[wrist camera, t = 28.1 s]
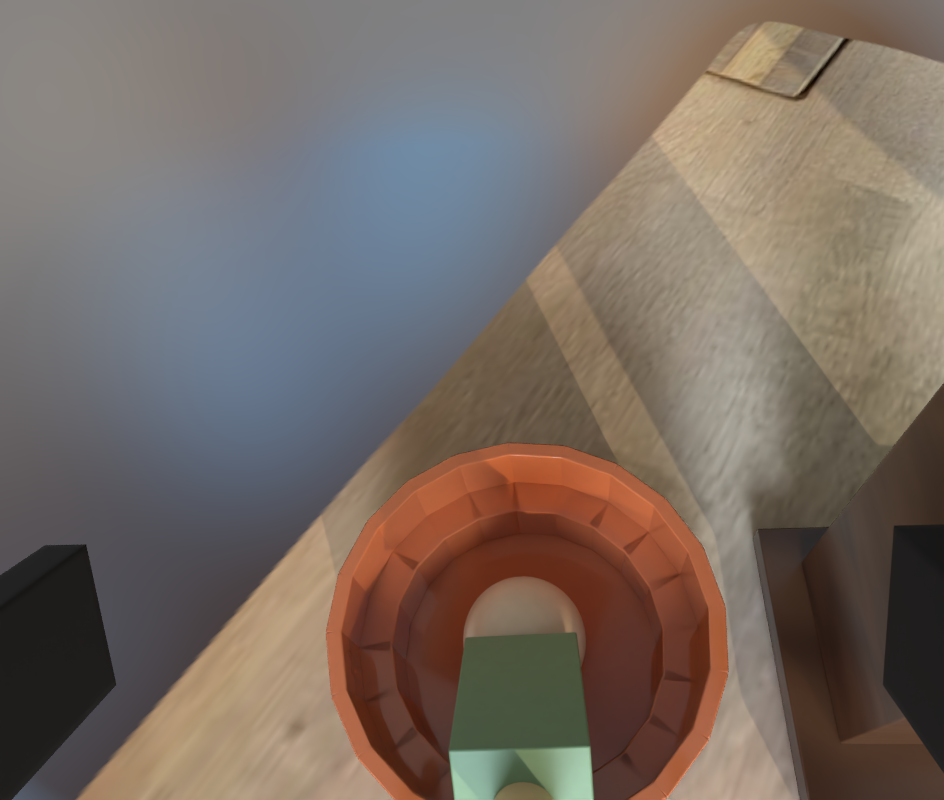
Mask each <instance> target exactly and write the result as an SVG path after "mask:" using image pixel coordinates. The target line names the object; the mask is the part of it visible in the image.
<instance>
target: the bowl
mask: <svg viewBox="0 0 944 800" xmlns="http://www.w3.org/2000/svg"><path fill="white" fill-rule="evenodd" d="M522 576H526V577H535V578H539V579H542V580H545V581H547V582H549V583H551V584H553V585H555V586H556V587H558V588H559V589H560V590H562V591H563V592H564V593H565V594H566V595H567V596H568V597H569V598H570V599H571V600H572V602H573V603H574V605H575V606H576V608H577V609H578V611H579V613H580V616H581V618H582V621H583V625H584V628H585V635H586V650H585V656H584V660H583V663H582V666H581V672H582V680H583V688H584V697H585V705H586V713H587V722H588V730H589V738H590V746H591V761H592V776H593V791H594V800H665V799H666V798H667V797H668V796H669V795H670V794H671V793H672V791H673V790H674V788H675V787H676V786H677V784H678V783H679V781H680V780H681V779H682V777H683V776H684V774H685V773H686V772H687V770H688V769H689V767H690V766H691V765H692V763H693V762H694V761H695V759H696V758H697V756H698V755H699V754H700V752H701V751H702V749H703V748H704V747H705V745H706V744H707V742H708V741H709V740H708V739H709V738H710V736H711V732H712V729H713V725H714V722H715V718H716V715H717V711H718V708H719V705H720V701H721V698H722V694H723V691H724V687H725V684H726V680H727V677H728V672H729V671H728V649H727V628H726V608H725V604H724V601H723V598H722V596H721V593H720V590H719V588H718V585H717V582H716V580H715V577H714V574H713V572H712V569H711V566H710V564H709V561H708V558H707V556H706V553H705V550H704V548H703V547H702V544H701V543H700V542H699V541H698V539H697V538H696V537H695V535H694V534H693V533H692V532H691V530H690V529H689V528H688V526H687V525H686V524H685V523H684V521H683V520H682V519H681V517H680V516H679V515H678V513H677V512H676V511H675V510H674V508H673V507H672V506H671V504H670V503H669V502H668V501H667V499H665V498H664V497H663V496H662V495H660V494H659V493H657V492H656V491H655V490H653V489H652V488H650V487H649V486H648V485H646V484H645V483H643V482H642V481H641V480H639V479H638V478H636V477H635V476H634V475H632V474H631V473H629V472H628V471H627V470H625V469H624V468H622V467H621V466H620V465H617V464H616V463H613V462H610V461H608V460H605V459H602V458H599V457H596V456H593V455H590V454H587V453H585V452H582V451H579V450H576V449H573V448H570V447H567V446H563V445H546V444H527V443H504V444H500V445H496V446H491V447H487V448H483V449H478V450H474V451H470V452H465V453H461V454H457V455H454V456H452V457H450V458H448V459H446V460H445V461H443V462H441V463H439V464H437V465H436V466H434V467H432V468H430V469H428V470H427V471H425V472H423V473H421V474H419V475H418V476H416V477H414V478H412V479H410V480H408V481H407V482H406V483H405V484H404V485H403V486H402V487H401V488H400V489H399V490H398V491H397V492H396V493H395V494H394V495H393V496H392V497H391V498H390V499H389V500H388V501H387V502H386V503H385V504H384V505H383V506H382V507H381V508H380V509H379V510H378V511H377V512H376V513H375V514H374V515H373V516H372V517H371V518H370V519H369V520H368V521H367V523H366V524H365V526H364V528H363V530H362V531H361V533H360V535H359V537H358V539H357V541H356V542H355V544H354V546H353V548H352V550H351V552H350V553H349V555H348V557H347V559H346V561H345V562H344V564H343V566H342V568H341V570H340V572H339V574H338V578H337V583H336V587H335V592H334V597H333V601H332V606H331V611H330V615H329V620H328V624H327V629H326V632H327V633H326V641H327V653H328V664H329V675H330V687H331V695H332V700H333V702H334V704H335V707H336V709H337V711H338V714H339V716H340V719H341V721H342V723H343V726H344V728H345V730H346V733H347V735H348V738H349V740H350V742H351V745H352V747H353V749H354V752H355V754H356V756H357V757H358V759H359V761H360V762H361V763H362V764H363V765H364V766H365V767H366V768H367V770H368V771H369V772H370V773H371V774H372V775H373V776H374V777H375V779H376V780H377V781H378V782H379V783H380V784H381V785H382V786H383V788H384V789H385V790H386V791H387V792H388V793H389V794H390V795H391V797H392V798H393V799H394V800H454V794H453V785H452V777H451V768H450V760H449V745H450V738H451V731H452V725H453V718H454V711H455V704H456V698H457V691H458V684H459V677H460V671H461V664H462V657H463V650H464V647H463V633H464V626H465V622H466V619H467V616H468V613H469V611H470V609H471V607H472V606H473V604H474V602H475V601H476V600H477V598H478V597H479V596H480V595H481V594H482V593H483V592H484V591H485V590H487V589H488V588H489V587H490V586H492V585H494V584H495V583H497V582H499V581H502V580H504V579H508V578H512V577H522Z"/></svg>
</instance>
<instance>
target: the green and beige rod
mask: <svg viewBox="0 0 944 800" xmlns="http://www.w3.org/2000/svg"><path fill="white" fill-rule="evenodd" d="M463 647H464V650H463V657H462V664H461V671H460V677H459V684H458V691H457V698H456V704H455V711H454V718H453V725H452V731H451V738H450V745H449V760H450V768H451V777H452V785H453V794H454V800H594V791H593V776H592V761H591V746H590V738H589V730H588V722H587V713H586V705H585V697H584V688H583V680H582V672H581V666H582V663H583V660H584V656H585V650H586V635H585V628H584V625H583V621H582V618H581V616H580V613H579V611H578V609H577V608H576V606H575V605H574V603H573V602H572V600H571V599H570V598H569V597H568V596H567V595H566V594H565V593H564V592H563V591H562V590H560V589H559V588H558V587H556V586H555V585H553V584H551V583H549V582H547V581H545V580H542V579H539V578H535V577H526V576H522V577H512V578H508V579H504V580H502V581H499V582H497V583H495V584H494V585H492V586H490V587H489V588H488V589H487V590H485V591H484V592H483V593H482V594H481V595H480V596H479V597H478V598H477V600H476V601H475V602H474V604H473V606H472V607H471V609H470V611H469V613H468V616H467V619H466V622H465V626H464V633H463Z"/></svg>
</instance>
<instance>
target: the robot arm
mask: <svg viewBox="0 0 944 800" xmlns="http://www.w3.org/2000/svg"><path fill="white" fill-rule="evenodd" d="M115 686H116V682H115V677H114V672H113V667H112V663H111V658H110V654H109V649H108V645H107V640H106V635H105V631H104V626H103V622H102V616H101V612H100V608H99V603H98V598H97V593H96V589H95V584H94V579H93V575H92V570H91V566H90V561H89V556H88V551H87V547H86V545H49V546H48V545H47V546H43V547H42V548H40V549H39V550H38V551H36V552H34V553H33V554H31V555H30V556H28V557H27V558H25V559H24V560H22V561H21V562H19V563H18V564H17V565H15V566H14V567H12V568H11V569H9V570H8V571H6V572H5V573H3V574H2V575H0V800H12V799H13V798H14V796H15V795H16V794H17V793H18V792H19V791H20V790H21V789H22V788H23V787H24V786H25V784H26V783H27V782H28V781H29V780H30V779H31V778H32V777H33V776H34V774H35V773H36V772H37V771H38V770H39V769H40V768H41V767H42V766H43V765H44V764H45V762H46V761H47V760H48V759H49V758H50V757H51V756H52V755H53V754H54V752H55V751H56V750H57V749H58V748H59V747H60V746H61V745H62V744H63V743H64V741H65V740H66V739H67V738H68V737H69V736H70V735H71V734H72V733H73V731H74V730H75V729H76V728H77V727H78V726H79V725H80V724H81V723H82V722H83V721H84V720H85V718H86V717H87V716H88V715H89V714H90V713H91V712H92V711H93V710H94V709H95V708H96V706H97V705H98V704H99V703H100V702H101V701H102V700H103V699H104V698H105V697H106V695H107V694H108V693H109V692H110V691H111V690H112V689H113V688H114V687H115ZM883 686H884V688H885V689H886V690H887V692H888V693H889V695H890V696H891V698H892V699H893V701H894V702H895V703H896V705H897V706H898V708H899V709H900V711H901V712H902V714H903V715H904V716H905V718H906V719H907V721H908V722H909V724H910V725H911V727H912V728H913V730H914V731H915V732H916V734H917V735H918V737H919V738H920V740H921V741H922V743H923V744H924V745H925V747H926V748H927V750H928V751H929V753H930V754H931V756H932V757H933V758H934V760H935V761H936V763H937V764H938V766H939V767H940V769H941V770H942V772H943V773H944V524H940V525H897V526H894V531H893V545H892V559H891V574H890V588H889V602H888V616H887V630H886V645H885V659H884V673H883Z"/></svg>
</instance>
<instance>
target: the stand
mask: <svg viewBox="0 0 944 800" xmlns="http://www.w3.org/2000/svg"><path fill="white" fill-rule="evenodd" d="M940 524H944V383H943V385H942V386H941V387H940V388H939V390H938V391H937V392H936V393H935V395H934V396H933V397H932V398H931V400H930V401H929V402H928V403H927V405H926V406H925V407H924V408H923V410H922V411H921V412H920V414H919V415H918V416H917V417H916V419H915V420H914V421H913V422H912V424H911V425H910V426H909V427H908V429H907V430H906V431H905V432H904V434H903V435H902V436H901V437H900V439H899V440H898V441H897V443H896V444H895V445H894V446H893V448H892V449H891V450H890V451H889V453H888V454H887V455H886V456H885V458H884V459H883V460H882V461H881V463H880V464H879V465H878V466H877V468H876V469H875V470H874V472H873V473H872V474H871V475H870V477H869V478H868V479H867V480H866V482H865V483H864V484H863V485H862V487H861V488H860V489H859V490H858V492H857V493H856V494H855V495H854V497H853V498H852V499H851V501H850V502H849V503H848V504H847V506H846V507H845V508H844V509H843V511H842V512H841V513H840V514H839V516H838V517H837V518H836V519H835V521H834V522H833V523H832V524H831V526H830V527H815V528H776V529H758V531H757V532H756V534H755V536H754V538H753V542H754V548H755V553H756V559H757V564H758V570H759V575H760V581H761V586H762V592H763V597H764V603H765V608H766V614H767V619H768V625H769V630H770V636H771V641H772V647H773V652H774V658H775V663H776V669H777V674H778V680H779V685H780V691H781V696H782V702H783V707H784V713H785V718H786V724H787V729H788V735H789V740H790V746H791V751H792V757H793V762H794V768H795V773H796V779H797V784H798V790H799V795H800V800H944V773H943V772H942V770H941V769H940V767H939V766H938V764H937V763H936V761H935V760H934V758H933V757H932V756H931V754H930V753H929V751H928V750H927V748H926V747H925V745H924V744H923V743H922V741H921V740H920V738H919V737H918V735H917V734H916V732H915V731H914V730H913V728H912V727H911V725H910V724H909V722H908V721H907V719H906V718H905V716H904V715H903V714H902V712H901V711H900V709H899V708H898V706H897V705H896V703H895V702H894V701H893V699H892V698H891V696H890V695H889V693H888V692H887V690H886V689H885V688H884V686H883V673H884V659H885V645H886V630H887V616H888V602H889V588H890V574H891V559H892V545H893V531H894V526H897V525H940Z"/></svg>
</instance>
